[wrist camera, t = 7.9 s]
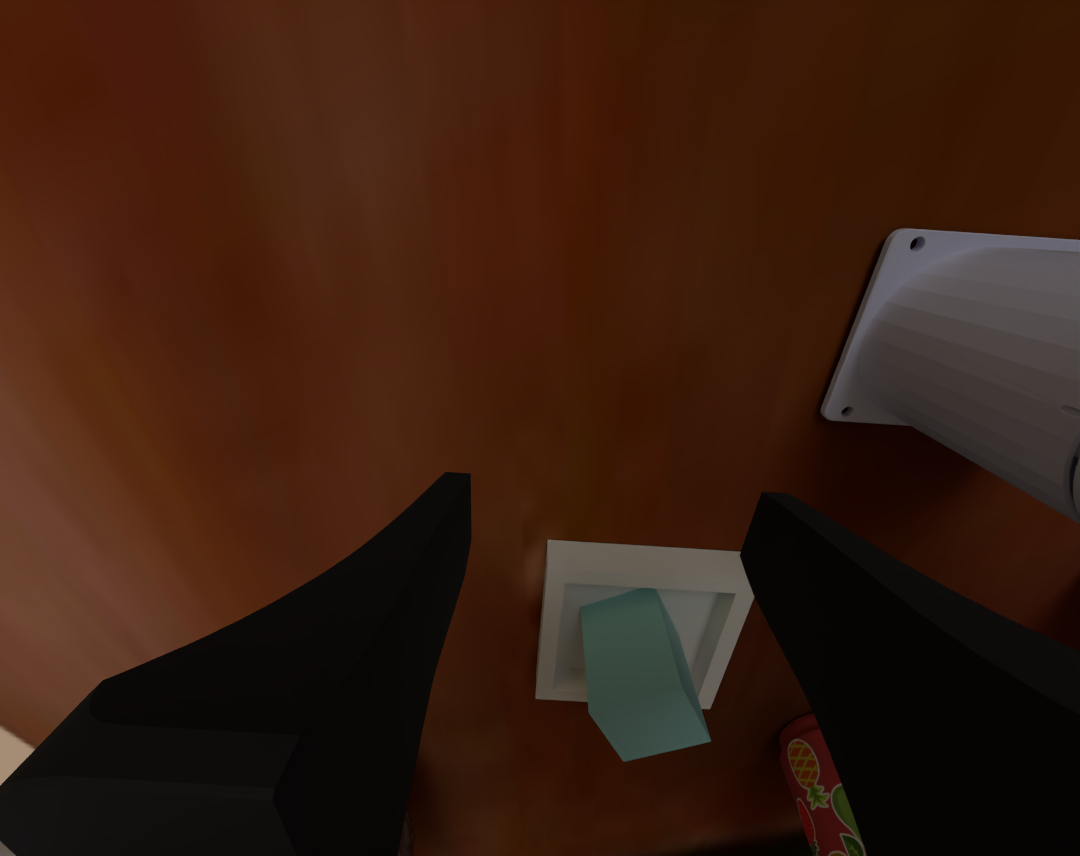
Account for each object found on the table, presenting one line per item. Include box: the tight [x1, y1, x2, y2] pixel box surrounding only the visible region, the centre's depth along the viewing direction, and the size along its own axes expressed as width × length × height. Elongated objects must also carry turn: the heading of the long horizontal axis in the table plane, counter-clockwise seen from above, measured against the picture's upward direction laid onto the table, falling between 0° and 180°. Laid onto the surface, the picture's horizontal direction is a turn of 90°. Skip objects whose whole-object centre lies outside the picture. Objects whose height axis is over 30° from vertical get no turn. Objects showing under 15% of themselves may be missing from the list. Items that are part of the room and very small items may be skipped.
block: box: [581, 588, 711, 762], centre depth 23 cm, size 4×4×6 cm
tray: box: [536, 540, 754, 709], centre depth 25 cm, size 11×11×2 cm
